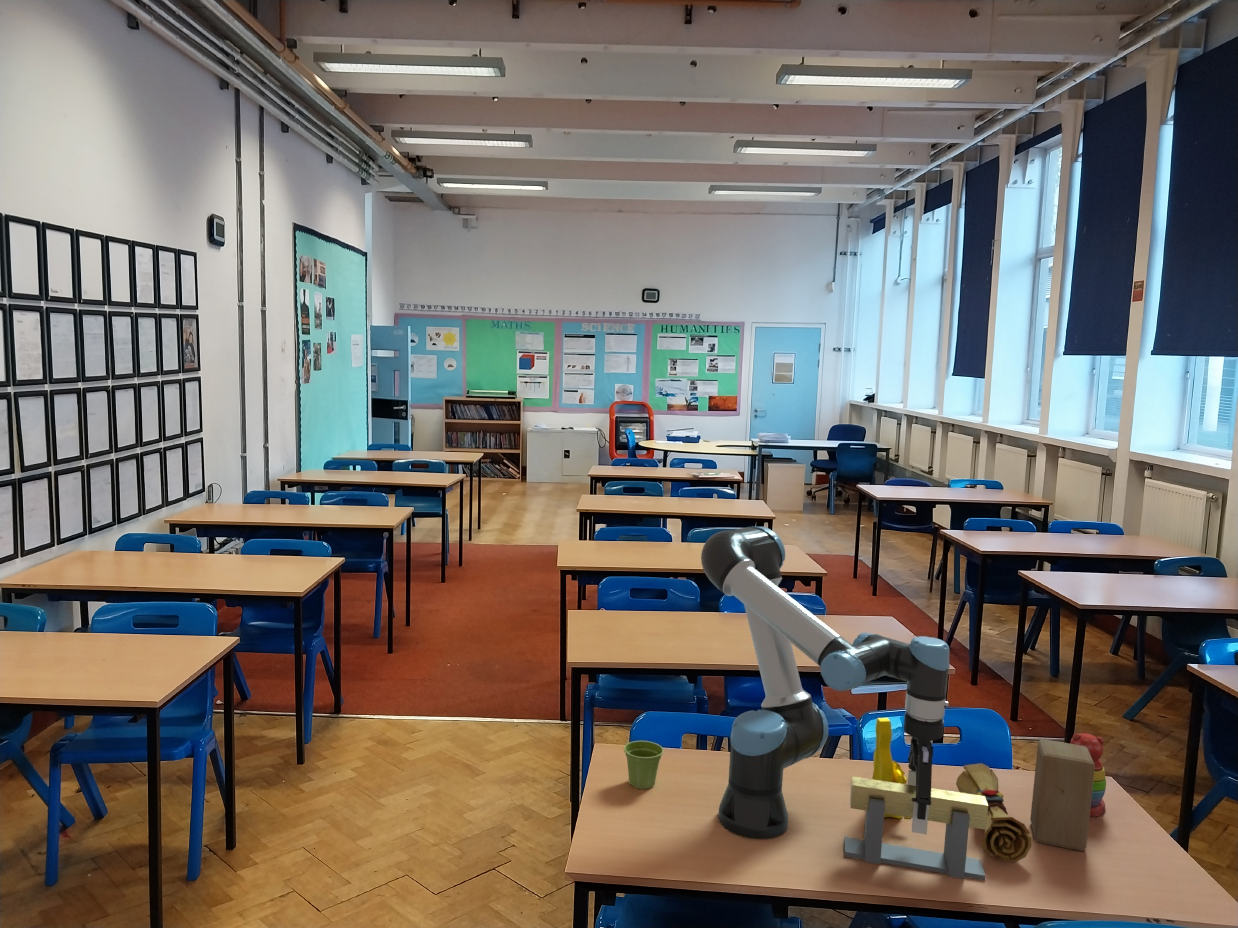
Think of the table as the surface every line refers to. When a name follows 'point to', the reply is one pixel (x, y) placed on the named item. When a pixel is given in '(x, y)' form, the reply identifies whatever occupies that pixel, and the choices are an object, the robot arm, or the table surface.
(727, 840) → the table surface
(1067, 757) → the wooden block
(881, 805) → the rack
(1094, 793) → the stacking bear
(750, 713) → the robot arm
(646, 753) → the plant pot
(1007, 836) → the scroll
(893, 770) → the figure statuette
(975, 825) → the rail
